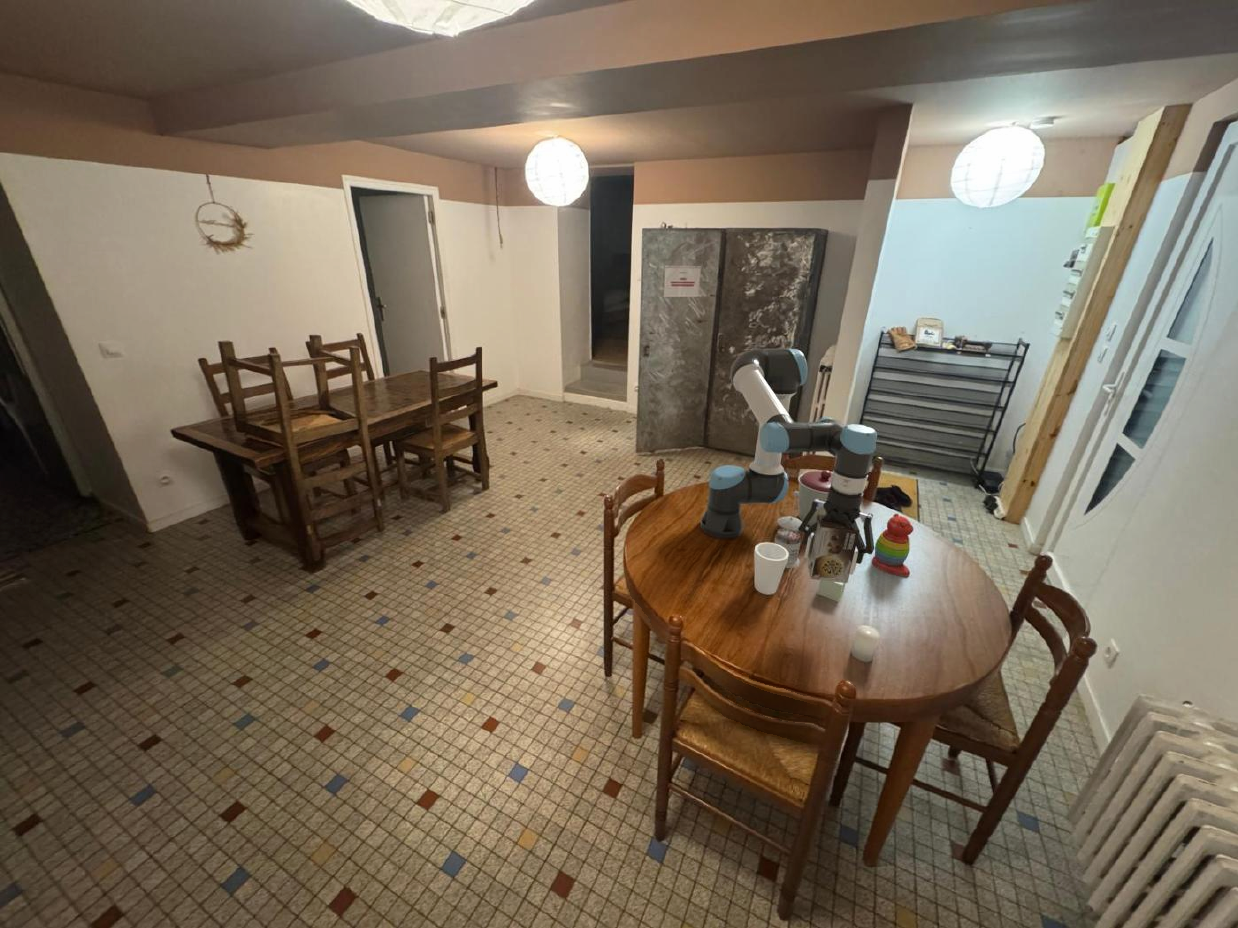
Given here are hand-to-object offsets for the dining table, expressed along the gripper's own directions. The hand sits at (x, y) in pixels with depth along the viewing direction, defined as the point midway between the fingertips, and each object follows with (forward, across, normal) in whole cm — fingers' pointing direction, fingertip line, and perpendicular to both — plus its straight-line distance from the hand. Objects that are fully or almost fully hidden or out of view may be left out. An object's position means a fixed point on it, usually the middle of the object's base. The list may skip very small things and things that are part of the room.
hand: (829, 563), depth 122 cm
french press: (+18, -17, +22) cm, 33 cm away
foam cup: (+18, -16, +3) cm, 24 cm away
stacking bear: (+18, +11, +39) cm, 44 cm away
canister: (+18, -16, +53) cm, 58 cm away
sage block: (+18, 0, +13) cm, 22 cm away
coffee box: (+4, 0, 0) cm, 4 cm away
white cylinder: (+17, +13, -7) cm, 23 cm away
